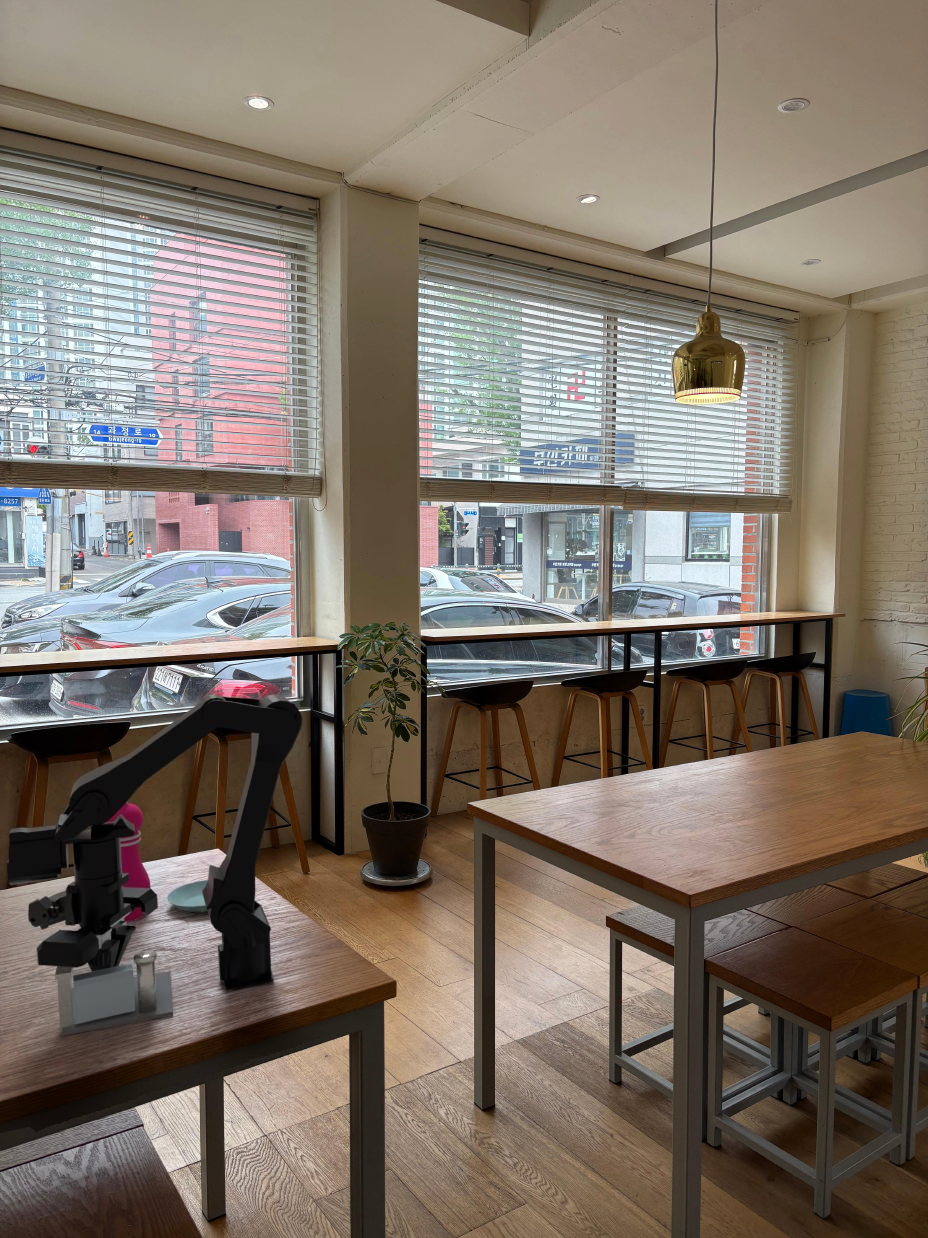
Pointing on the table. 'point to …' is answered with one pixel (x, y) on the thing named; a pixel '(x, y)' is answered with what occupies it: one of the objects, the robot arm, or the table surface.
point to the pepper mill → (132, 855)
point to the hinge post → (146, 980)
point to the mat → (161, 1011)
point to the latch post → (65, 997)
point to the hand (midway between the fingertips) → (104, 988)
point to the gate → (103, 993)
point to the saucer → (189, 897)
